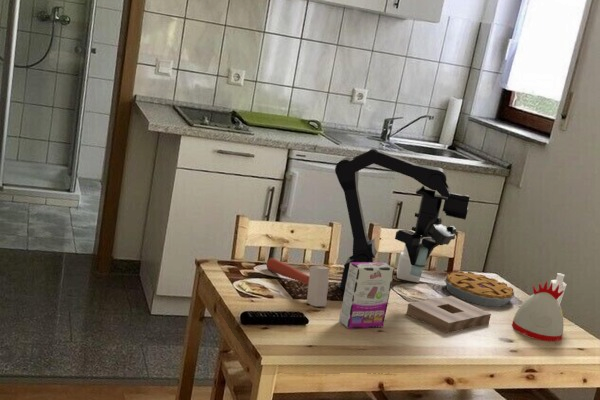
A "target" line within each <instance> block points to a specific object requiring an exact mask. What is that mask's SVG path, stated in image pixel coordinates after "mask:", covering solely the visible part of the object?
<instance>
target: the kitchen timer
mask: <svg viewBox="0 0 600 400" xmlns="http://www.w3.org/2000/svg"><path fill="white" fill-rule="evenodd" d="M532 288H533V289H532V290H533V294H531V295H530V296H527V298H526V299H524V301H523V302H522V303H521V305H520V306H519V308H518V309H517V311H516V313H515V314H514V317H513V320H512V324H511V326H512V327H513V329H514V330H515V329H516V332H518V333H520V334H523V335H524V336H527V337H529V338H532V339H535V340H539V341H544V342H559V341H561V340H562V338H563V335H564V315H565V313H564V311H563V309H562V306H561V303H560V304H559V302H558V301H557V299H558V297H559V296H560V295H561V294H562V293H563V291H564V290H563V291H561V292H560V293H559V292H558V289H559V285H558V286H557V287H556V289H555V290H554V291H553V290H552V283H551V285H550V284H549V288H548V280H546V281H545V283H544V285H543V287H542V285H541V282H539V284H538V290H537V289H536V286H535V285H533V286H532ZM564 292H565V291H564Z"/></svg>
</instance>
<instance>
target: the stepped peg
mask: <svg viewBox="0 0 600 400" xmlns="http://www.w3.org/2000/svg"><path fill="white" fill-rule="evenodd" d="M427 253H428V249H427V248H425V247H422V248H421V249H420V250H419V254H418V257H417V260H416V263H415V265H414V266H413V265H412V267H411V271H410V274H411V275H413V276H418V277H420V278H421V276H422V274H423V268H425V267H426V262H427V261H426V258H427Z"/></svg>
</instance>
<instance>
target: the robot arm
mask: <svg viewBox="0 0 600 400" xmlns="http://www.w3.org/2000/svg"><path fill="white" fill-rule="evenodd" d="M371 165H376V166H380V167H382V168H385V169H387V170H390V171H393V172H396V173H399V174H401V175H404V176H407V177H410V178H412V179H413V180H415V181H417V182H418V183H419V184H421V185H422V186H421V187H419V188H417V189H416V190H415V194H417V195H420V196H421V199H420V203H419V204H420V205H419V208H418V212H415V213H414V217H416V218H417V219H416V222H415V226H412V227H411V229H406V228H405V229H398V230H397V231H396V232H395V237H394V239H395V240H396V241H399V242H401V243H404V246H405V245H406V248H407V251H408V254H409V258H410V262H411V265H413V266H414V265H415V263H416V260H417V257H418V254H419V250H420V249H421V248H422V247H425V248H427V249H428V253H427V258H426V262H427V260H428V259H429V257H430V256H431V254H432V252H433V251H434V250H435V248H436V247H438V246H443V245H444V246H445V245H447V246H448V245H450V243H451V241H452V240H455V239H456V234H457V228H456V227H455V226H453V225H450V226H446V225H443V224H442V221H443V220H442V217H439V216H440V212H441V207H442V212H444V214H445V216H446V217H451V218H456V219H461V220H466V218H467V214H468V210H469V204H470V203H469V201H470V198H471V197H470V195H468V194H460V193H455V192H451V187H449V184H448V183H447V180H448V178H447V177H448V176H447V173H446V171H445V169H443V168H442V167H438V166H433V165H426V164H425V165H424V164H419V163H414V162H412V161H410V160H406V159H404V158H402V157H399V156H395V155H393V154H390V153H389V152H384V151H381V150H380V149H378V148H374V147H373V148H371V149H369V150H368V151H365V152H362V153H360V154H359V155H356V156H355V157H343V158H341V160H340V161H338V162H337V164H335V169H334V173H335V175H336V178H337V181H338V183H339V185H340V187H341V189H342V190H343V194H344V198H345V203H346V208H347V213H348V218H349V222H350V229H351V234H352V238H353V239H352V255H350V256H349V257H348V258H347V259H346V261H345V263H344V265H343V270H342V275H341V281H340V284H336V286H335V287H336V288H337V289H340V290H341V291H343V292H345V287H346V281H347V276H348V270H349V265H350V262H375V259H376V255H377V253H378V251H377V249H376V245H375V244H376V242H375V239H370V238H369V236H368V234H367V229H366V223H365V217H364V214H363V208H362V203H361V197H360V193H359V171H361V170H363V169H366V168H367V167H370V166H371ZM436 191H437V193H436ZM438 193H439V194H438ZM443 201H444V203H443ZM442 203H443V206H442Z"/></svg>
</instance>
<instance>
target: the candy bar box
mask: <svg viewBox="0 0 600 400" xmlns="http://www.w3.org/2000/svg"><path fill="white" fill-rule="evenodd" d="M394 273H395V267H393V266H392V265H390V264H389V263H387V262H382V261H381V262H377V261H376V262H375V261H373V262H350V265H349V270H348V276H347V281H346V287H345V291H343V292H344V294H343V299H342V302H341V303H342V304H341V308H340V315H339V320H338V322H340V324H341V325H343V326H344V327H345V328H346V329H350V330H351V329H370V328H371V329H372V328H373V329H374V328H384V325H385V321H386V320H385V319H386V314H387V308H388V304H389V299H390V293H391V289H392V283H393V278H394V275H395V274H394Z"/></svg>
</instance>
